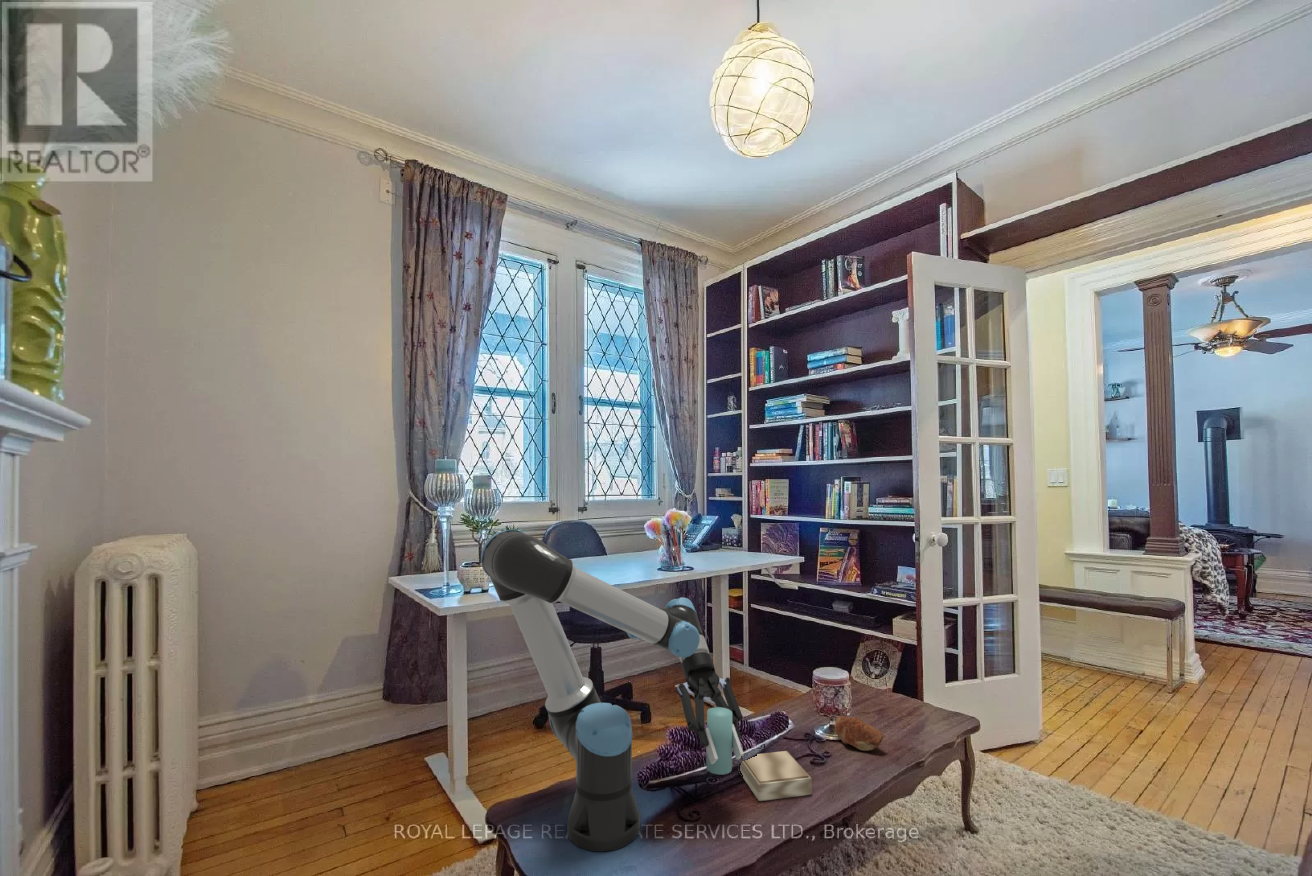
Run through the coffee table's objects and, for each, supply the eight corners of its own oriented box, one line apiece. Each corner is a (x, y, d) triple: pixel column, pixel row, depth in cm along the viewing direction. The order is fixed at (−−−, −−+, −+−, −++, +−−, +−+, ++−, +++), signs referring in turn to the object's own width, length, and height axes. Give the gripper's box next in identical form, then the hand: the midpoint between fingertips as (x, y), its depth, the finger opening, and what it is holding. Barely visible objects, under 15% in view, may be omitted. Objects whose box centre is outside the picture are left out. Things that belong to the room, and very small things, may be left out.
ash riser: (758, 801, 129) (758, 782, 129) (738, 771, 141) (738, 755, 142) (811, 794, 131) (811, 776, 131) (787, 766, 144) (787, 749, 144)
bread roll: (826, 722, 161) (846, 696, 159) (847, 731, 164) (868, 705, 162) (848, 760, 149) (870, 731, 147) (870, 769, 152) (893, 741, 150)
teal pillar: (710, 775, 123) (711, 718, 123) (703, 762, 128) (704, 708, 129) (735, 773, 124) (736, 716, 125) (726, 760, 129) (727, 706, 130)
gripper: (723, 662, 145) (757, 759, 128) (655, 670, 138) (683, 773, 122) (734, 646, 140) (770, 745, 124) (664, 654, 133) (694, 759, 117)
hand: (727, 758), depth 123 cm, fingers closed on teal pillar, 5 cm apart
